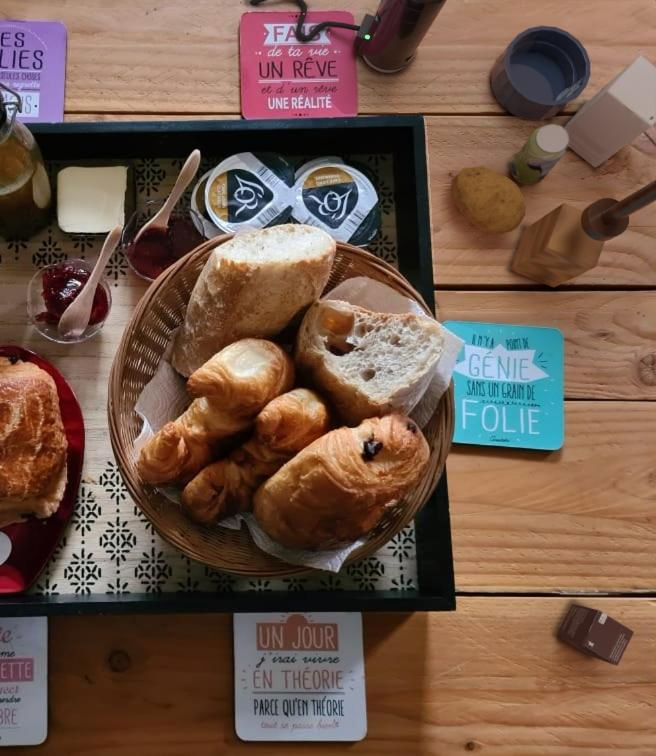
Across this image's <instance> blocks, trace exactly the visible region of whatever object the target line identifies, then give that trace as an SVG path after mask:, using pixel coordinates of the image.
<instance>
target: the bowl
mask: <svg viewBox="0 0 656 756" xmlns="http://www.w3.org/2000/svg"><path fill="white" fill-rule="evenodd" d="M490 77H491V79H490V85H491V88H492V92H493V94H494V96H495V98H496V100H497V101H498V102H499V104H500V105H501V107H503V108H504V109H505V110H506V111H507V112H509V113H510V114H512V115H513V116H516V117H519V118H521V119H523V120H530V121H542V120H547V119H551V118H553V117H554V116H556V115H558V114H560V113H561V112H562V111H564V110H565V109H566V108H567V107H568V106H569V105H570V104H572V103H573V102H574V101H575V100H576V99H577V98H578V97H579V96H580V95H581V94H582V92H583V91H584V90H585V89H586V88H587V86H588V83H589V80H590V77H591V60H590V57H589V54H588V51H587V49H586V48H585V47H584V45H583V43H581V41H580V40H579V39H578V38H577V37H575V36H574V35H573V34H571V33H570V32H569V31H567V30H565V29H562V28H559V27H557V26H551V25H538V26H533V27H529V28H527V29H525V30H524V31H522V32H520V33H518V34H517V35H516V36H515V37H514V38H513V39H512V40H511V42H510V43H508V46H506V48H505V49H504V50H503V52H502V53H501V54H500V55H499V56H498V58H497V59H496V60H495V62H494V64H493V67H492V70H491V76H490Z"/></svg>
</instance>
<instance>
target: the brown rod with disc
mask: <svg viewBox="0 0 656 756" xmlns="http://www.w3.org/2000/svg"><path fill="white" fill-rule="evenodd" d="M655 202H656V179H655V180H653V181H651V182H649V183H648V184H646V185H645V186H643V187H641V188H640V189H638V190H636V191H635V192H633V193H631V194H630V195H627V196H626V197H625V198H622V199H621V200H617V199H615V198H612V197H601V198H599V199H597V200H595V201H594V202H592V203H591V204H589V205H587V206H586V207H585V208H584V210H583V213H582V215H581V225H582V228H583V230H584V232H585V233H586V234H587V235H588V236H589V237H590V238H592V239H594V240H597V241H605V242H607V241H611V240H613V239H615V238H617V237H618V236H621V235H622V234H624V232H625V231H626V230H627V229H628V227H629V224H630V216H631V215H633V214H635V213H637V212H638V211H641V210H642V209H644V208H645V207H647V206H649V205H651V204H653V203H655Z"/></svg>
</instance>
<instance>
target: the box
mask: <svg viewBox="0 0 656 756" xmlns="http://www.w3.org/2000/svg"><path fill="white" fill-rule="evenodd" d="M634 633H635V631H634V630H632V629H631V628H629V627H627V626H625V625H624V624H623V623H621V622H619V621H618V620H616V619H615V618H613V617H611V616H610V615H608V614H606V613H604V612H603V611H602V610H600V609H596V608H591V607H587V606H585V605H584V606H583V605H581V604H575V603H573V604H571V606H570V609H569V610H568V612H567V613H566V616H565V618H564V620H563V622H562V624H561V626H560V629H559V630H558V632H557V634H556V636H557V638H559V639H561V640H562V641H564V642H565V643H567V644H569V645H571V646H572V647H574V648H576V649H577V650H579V651H581V652H582V653H584V654H585V655H587V656H589V657H592V658H594V659H597V660H600V661H602V662H606V663H607V664H611V665H614V666H619V664H620V662H621V659H622V657H623V655H624V653H625V652H626V649H627V648H628V646H629V643H630V641H631V639H632V637H633V635H634Z"/></svg>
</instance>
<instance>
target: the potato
mask: <svg viewBox="0 0 656 756" xmlns="http://www.w3.org/2000/svg"><path fill="white" fill-rule="evenodd" d="M450 183H451V184H450V196H451V198H452V200H453V202H454V204H455V205H456V207H457V209H458V210H459V211H460V212H461V214H462V215H463V216H464V218H465V219H466V220H467V221H469V222H470V223H471V224H472V225H474V226H475V227H476V228H477V229H479V230H481V231H482V232H484V233H486V234H492V235H500V234H501V235H502V234H506V233H510V232H512V231H514V230H516V229H517V228H518V227H519V226H520V225H521V223H522V221H523V220H524V218H525V215H526V210H527V206H526V203H525V199H524V197H523V195H522V191H521V190H520V188H519V186H518V184H516V183H515V182H514V181H513V180H512V179H511V178H509V177H507V176H506V175H504V174H503V173H500V172H498V171H496V170H494V169H492V168H489V167H485V166H483V165H482V166H474V167H463V168H462V169H461V170H460V171H459V172H458V173H457V174H456V175H455V176H454V177H453V179H451V182H450Z"/></svg>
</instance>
